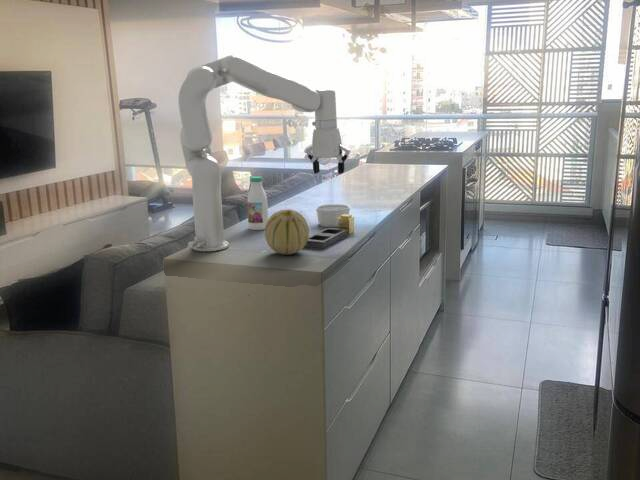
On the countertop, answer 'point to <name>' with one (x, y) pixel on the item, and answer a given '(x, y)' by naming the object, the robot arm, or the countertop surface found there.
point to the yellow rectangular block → (346, 223)
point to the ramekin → (331, 214)
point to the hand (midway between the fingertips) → (328, 173)
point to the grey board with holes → (326, 238)
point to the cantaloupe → (286, 232)
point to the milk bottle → (257, 205)
